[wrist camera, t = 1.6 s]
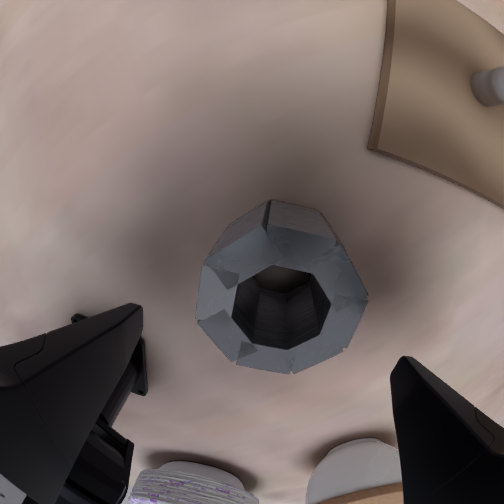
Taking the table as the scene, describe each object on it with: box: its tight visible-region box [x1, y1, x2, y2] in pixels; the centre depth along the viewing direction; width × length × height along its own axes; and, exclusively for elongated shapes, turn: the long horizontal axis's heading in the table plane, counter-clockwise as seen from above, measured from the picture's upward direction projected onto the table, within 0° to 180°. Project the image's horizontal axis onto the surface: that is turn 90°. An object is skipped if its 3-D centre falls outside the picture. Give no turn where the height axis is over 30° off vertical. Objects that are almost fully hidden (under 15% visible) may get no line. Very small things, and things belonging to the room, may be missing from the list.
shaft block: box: [367, 0, 504, 209], centre depth 8 cm, size 12×12×6 cm
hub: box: [196, 200, 368, 374], centre depth 13 cm, size 6×6×5 cm
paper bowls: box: [129, 461, 259, 504], centre depth 22 cm, size 15×15×8 cm
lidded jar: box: [305, 438, 404, 504], centre depth 17 cm, size 11×11×9 cm
